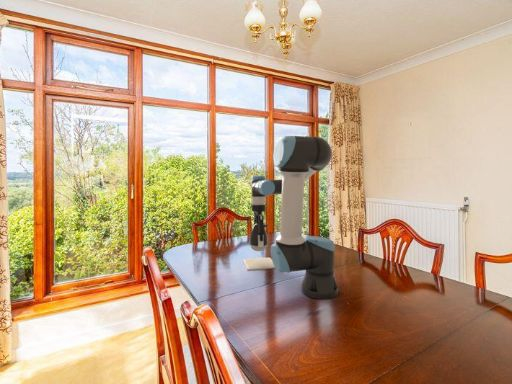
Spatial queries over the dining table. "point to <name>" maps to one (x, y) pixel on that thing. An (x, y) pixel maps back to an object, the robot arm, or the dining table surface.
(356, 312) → the dining table surface
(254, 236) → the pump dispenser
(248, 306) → the dining table surface
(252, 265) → the trivet
